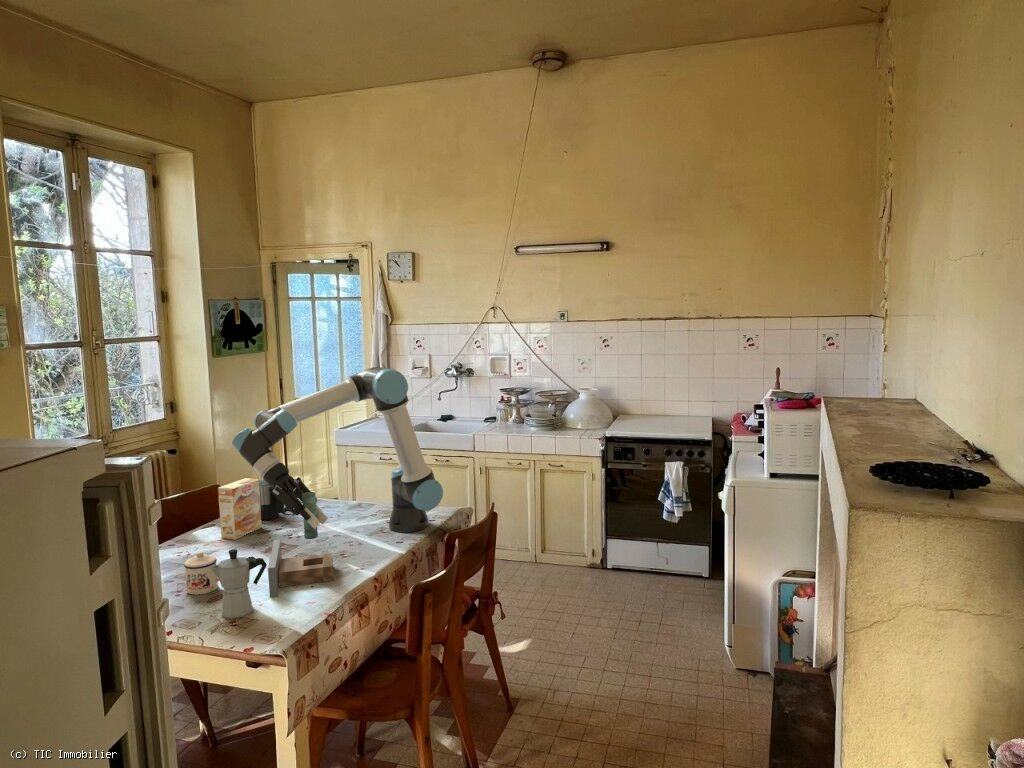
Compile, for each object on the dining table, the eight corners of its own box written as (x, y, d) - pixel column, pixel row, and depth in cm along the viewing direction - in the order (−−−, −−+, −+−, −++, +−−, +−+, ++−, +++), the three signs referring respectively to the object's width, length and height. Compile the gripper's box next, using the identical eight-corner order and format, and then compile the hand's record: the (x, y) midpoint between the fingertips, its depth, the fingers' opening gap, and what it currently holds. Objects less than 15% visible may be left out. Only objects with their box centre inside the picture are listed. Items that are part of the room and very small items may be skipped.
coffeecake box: (236, 540, 254) (232, 488, 252) (220, 538, 256) (216, 487, 254) (262, 527, 268) (259, 478, 266) (247, 525, 271) (244, 477, 268)
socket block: (333, 566, 225) (332, 553, 224) (333, 580, 213) (332, 566, 213) (281, 572, 221) (281, 558, 220) (279, 586, 209) (278, 572, 209)
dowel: (317, 534, 218) (315, 491, 217) (317, 538, 215) (315, 494, 213) (304, 535, 217) (302, 492, 216) (304, 539, 214) (301, 495, 212)
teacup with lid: (181, 596, 204) (178, 558, 203) (192, 584, 213) (189, 548, 212) (222, 593, 206) (220, 556, 204) (232, 581, 215) (229, 545, 213)
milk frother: (250, 519, 278) (248, 484, 277) (270, 508, 294) (268, 474, 292) (283, 521, 276) (280, 485, 274) (301, 509, 291) (299, 475, 290)
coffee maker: (213, 623, 186) (207, 559, 184) (212, 610, 194) (208, 548, 192) (270, 612, 192) (266, 550, 190) (268, 600, 200) (264, 540, 198)
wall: (282, 565, 227) (280, 539, 226) (277, 596, 202) (275, 567, 201) (276, 566, 227) (274, 539, 226) (269, 597, 202) (267, 568, 201)
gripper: (262, 468, 208) (314, 524, 205) (293, 456, 224) (342, 508, 222) (248, 484, 210) (299, 540, 207) (280, 471, 226) (328, 522, 224)
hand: (321, 523), depth 215 cm, fingers closed on dowel, 4 cm apart
